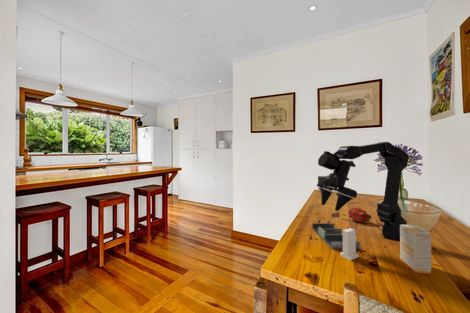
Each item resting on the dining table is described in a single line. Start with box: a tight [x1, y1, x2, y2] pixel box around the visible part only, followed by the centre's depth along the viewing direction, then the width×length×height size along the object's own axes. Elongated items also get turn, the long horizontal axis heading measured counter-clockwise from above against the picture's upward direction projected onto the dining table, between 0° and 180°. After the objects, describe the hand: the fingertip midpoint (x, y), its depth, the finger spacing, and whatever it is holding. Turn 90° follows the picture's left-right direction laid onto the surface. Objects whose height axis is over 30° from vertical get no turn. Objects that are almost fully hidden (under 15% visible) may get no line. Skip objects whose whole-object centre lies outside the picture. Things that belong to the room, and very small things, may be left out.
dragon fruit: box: [347, 207, 373, 224], centre depth 112 cm, size 8×8×12 cm
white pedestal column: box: [339, 227, 359, 261], centre depth 75 cm, size 5×4×10 cm
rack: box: [311, 222, 361, 250], centre depth 91 cm, size 11×22×4 cm, turn 179°
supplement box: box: [399, 224, 432, 275], centre depth 68 cm, size 8×5×13 cm, turn 168°
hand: (329, 207), depth 85 cm, fingers open, 9 cm apart
